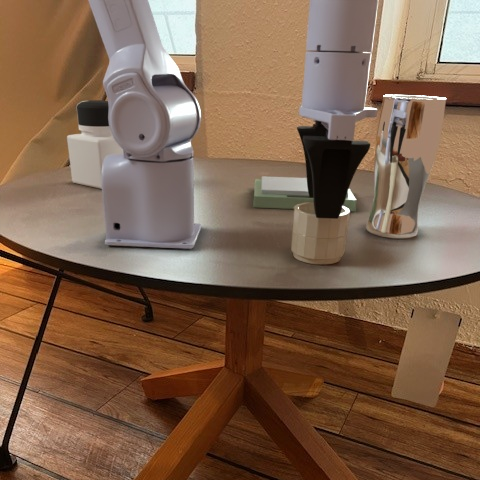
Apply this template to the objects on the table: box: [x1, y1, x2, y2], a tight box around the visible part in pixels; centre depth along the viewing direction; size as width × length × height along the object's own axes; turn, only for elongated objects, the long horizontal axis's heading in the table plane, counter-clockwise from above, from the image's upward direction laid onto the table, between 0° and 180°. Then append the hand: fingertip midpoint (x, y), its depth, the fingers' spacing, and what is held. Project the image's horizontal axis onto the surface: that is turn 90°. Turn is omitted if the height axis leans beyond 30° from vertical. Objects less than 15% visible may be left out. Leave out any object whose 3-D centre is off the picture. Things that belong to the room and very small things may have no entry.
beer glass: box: [365, 94, 447, 240], centre depth 58 cm, size 7×7×15 cm
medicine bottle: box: [66, 99, 123, 190], centre depth 77 cm, size 7×7×12 cm
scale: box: [253, 175, 358, 212], centre depth 73 cm, size 14×11×2 cm
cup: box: [290, 202, 351, 265], centre depth 51 cm, size 6×6×5 cm
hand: (322, 206), depth 50 cm, fingers open, 7 cm apart
